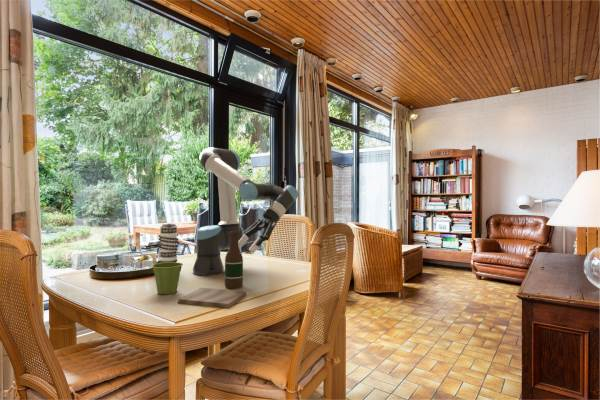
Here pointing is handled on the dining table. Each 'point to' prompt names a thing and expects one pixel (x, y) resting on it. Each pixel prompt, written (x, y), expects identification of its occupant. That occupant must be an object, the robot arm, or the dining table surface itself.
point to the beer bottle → (233, 264)
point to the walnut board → (212, 297)
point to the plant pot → (167, 276)
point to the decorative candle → (168, 243)
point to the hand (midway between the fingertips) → (243, 249)
